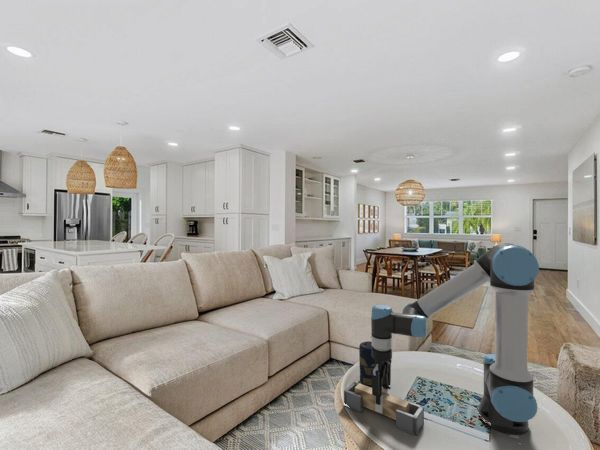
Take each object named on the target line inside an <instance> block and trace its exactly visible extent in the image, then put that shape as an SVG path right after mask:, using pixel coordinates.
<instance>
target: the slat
mask: <svg viewBox="0 0 600 450" xmlns="http://www.w3.org/2000/svg"><path fill="white" fill-rule="evenodd" d="M355 393H356V394H359V395H361V398H362V406H364V407H365V408H366V409H368V410H371V411H374V412H376V411H375V396H374V395H372V386H371V387H370V386H369V385H366V384H364V383H363V384H362V383H360V382H359V383H358V385H357V386H356V387H355ZM382 395H383V413H382V414H381V413H379V412H377V413H379V414H381V415H382V416H385V417H388V418H390V419H392V420H395V421H396V410H397V409H398V410H401V411H404V412H406V413H409V402H410V401H409V400H406V399H402V398H400V397H397V396H394V395H391V394H390V393H388V394H387V393H384V392H382ZM405 400H406V401H405ZM408 401H409V402H408Z"/></svg>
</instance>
